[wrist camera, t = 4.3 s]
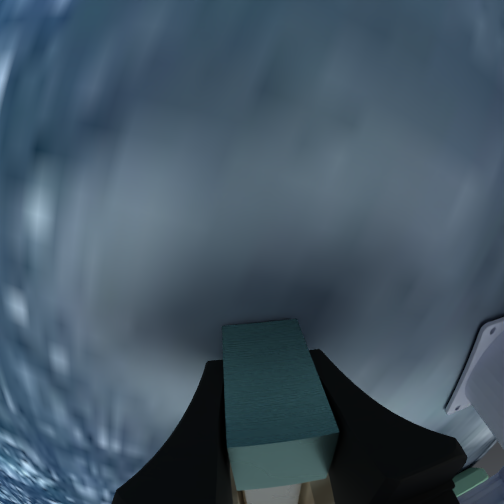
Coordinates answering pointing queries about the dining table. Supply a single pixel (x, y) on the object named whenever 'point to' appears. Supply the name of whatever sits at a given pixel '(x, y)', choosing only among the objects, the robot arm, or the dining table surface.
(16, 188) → the dining table surface
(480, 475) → the pale green rod
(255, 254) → the dining table surface
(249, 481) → the shaft
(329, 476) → the robot arm
